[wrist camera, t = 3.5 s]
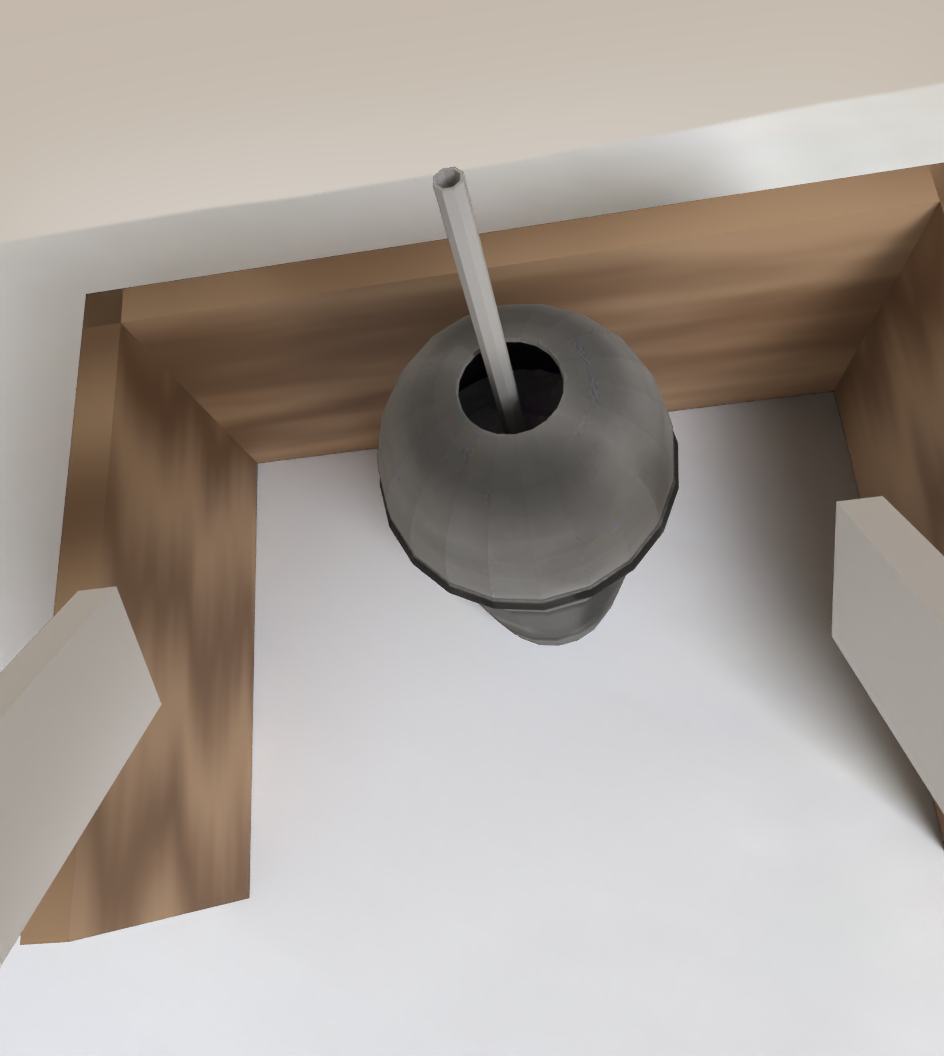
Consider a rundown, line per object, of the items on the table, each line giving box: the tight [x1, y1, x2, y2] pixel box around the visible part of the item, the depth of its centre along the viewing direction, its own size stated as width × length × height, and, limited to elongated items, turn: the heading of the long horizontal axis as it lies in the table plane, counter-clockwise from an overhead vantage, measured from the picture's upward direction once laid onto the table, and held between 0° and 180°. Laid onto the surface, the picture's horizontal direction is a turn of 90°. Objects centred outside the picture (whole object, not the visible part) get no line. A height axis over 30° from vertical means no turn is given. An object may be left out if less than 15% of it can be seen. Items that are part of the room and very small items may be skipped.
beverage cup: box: [377, 167, 679, 645], centre depth 22 cm, size 7×7×20 cm
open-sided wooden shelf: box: [20, 163, 944, 945], centre depth 26 cm, size 18×25×10 cm
